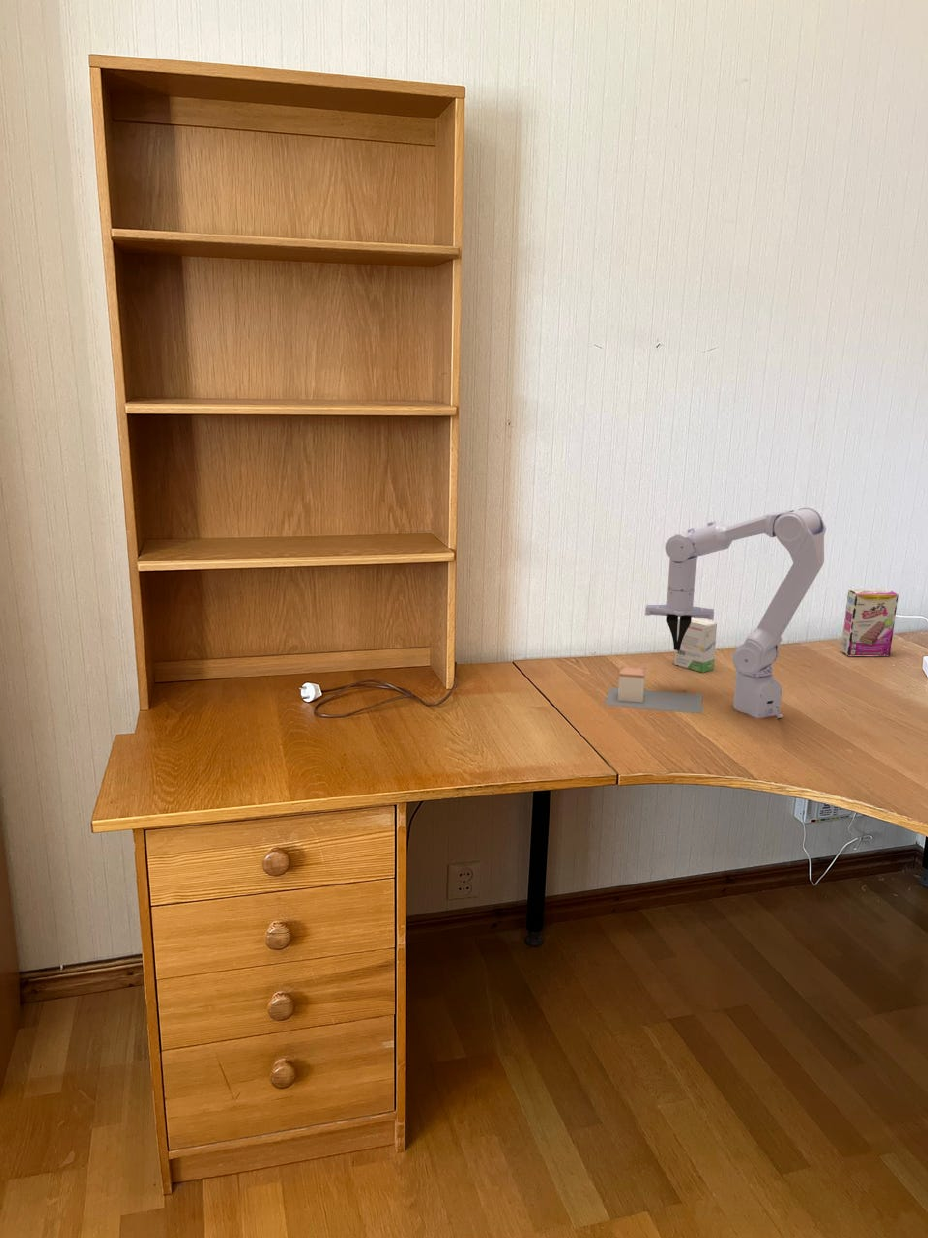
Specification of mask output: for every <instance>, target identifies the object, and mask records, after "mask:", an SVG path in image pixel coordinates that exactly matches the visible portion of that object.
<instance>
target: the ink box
mask: <svg viewBox="0 0 928 1238" xmlns="http://www.w3.org/2000/svg"><path fill="white" fill-rule="evenodd" d="M679 624H680V617H678V627H677V641H678V635H679ZM717 627H718V623H717V622H713V621H711V620H708V619H707V620H706V619H704V618H692V621H691V624H690V626H689V627H688V629H687V631H686V633H685V635H684V637H683V640H682V643H681V647H680V650H674V666H677V665H678V667H681V668H685V669H688V670H692V671H695V672H698V673H703V674H705V673H707V672H710V671H713V670H714V668H715V658H716V642H717V630H718V628H717Z"/></svg>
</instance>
